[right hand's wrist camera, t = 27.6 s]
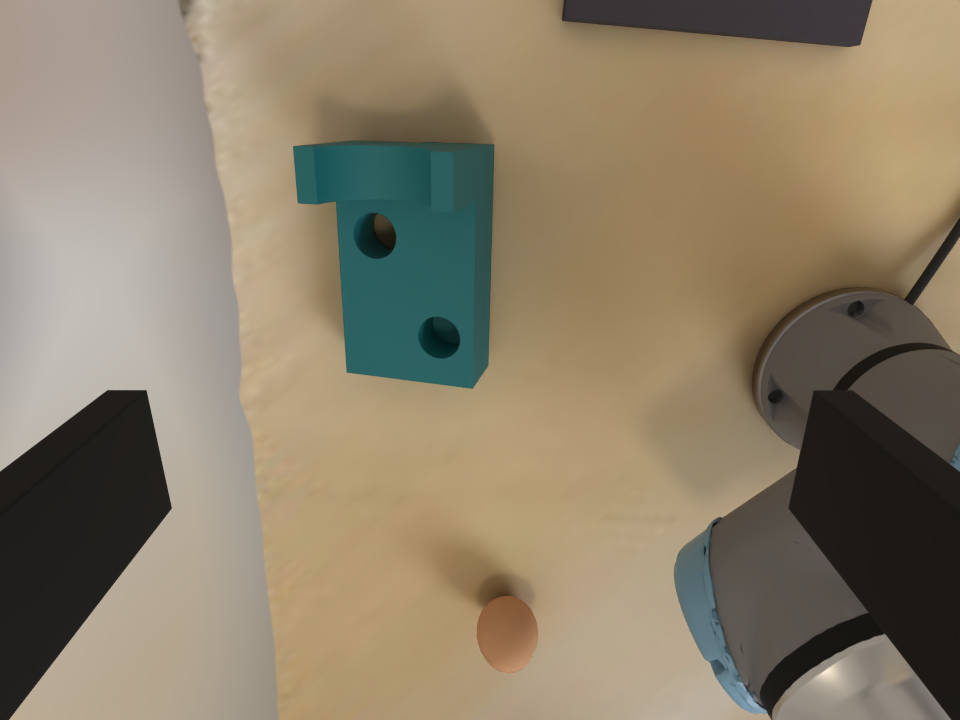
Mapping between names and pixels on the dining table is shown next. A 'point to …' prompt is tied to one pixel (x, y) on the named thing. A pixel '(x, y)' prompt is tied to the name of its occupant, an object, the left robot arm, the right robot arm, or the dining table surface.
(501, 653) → the egg
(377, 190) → the teal l-shaped bracket
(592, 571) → the dining table surface
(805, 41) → the notebook
